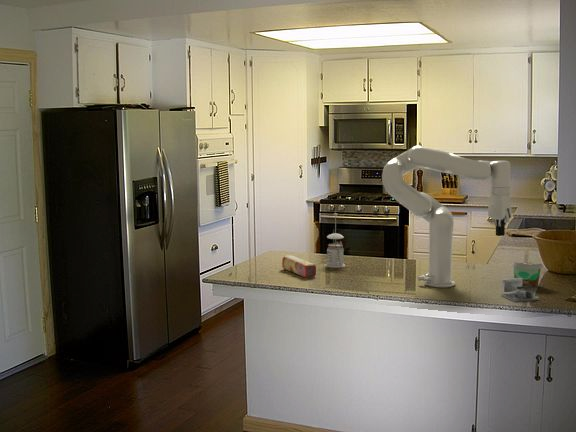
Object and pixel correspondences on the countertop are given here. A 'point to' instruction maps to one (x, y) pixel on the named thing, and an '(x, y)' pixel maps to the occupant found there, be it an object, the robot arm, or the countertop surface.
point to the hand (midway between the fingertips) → (500, 235)
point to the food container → (527, 273)
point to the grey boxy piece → (514, 285)
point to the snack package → (299, 266)
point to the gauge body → (520, 296)
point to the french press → (335, 250)
